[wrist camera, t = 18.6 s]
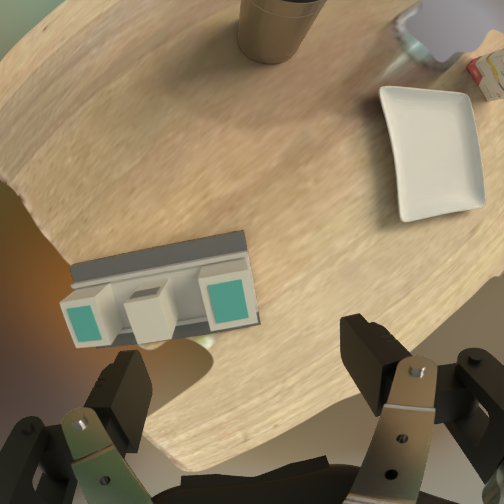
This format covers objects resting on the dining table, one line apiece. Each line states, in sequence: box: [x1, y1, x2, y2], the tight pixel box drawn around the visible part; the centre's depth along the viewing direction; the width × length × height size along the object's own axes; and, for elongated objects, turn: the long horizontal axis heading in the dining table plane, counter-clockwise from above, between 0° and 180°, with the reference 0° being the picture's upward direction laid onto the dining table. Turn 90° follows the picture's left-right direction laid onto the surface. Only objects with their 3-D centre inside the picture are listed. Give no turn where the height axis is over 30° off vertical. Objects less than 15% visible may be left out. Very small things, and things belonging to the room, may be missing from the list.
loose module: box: [124, 277, 180, 344], centre depth 38 cm, size 6×4×8 cm
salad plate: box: [378, 86, 485, 223], centre depth 41 cm, size 21×21×3 cm
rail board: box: [59, 230, 261, 348], centre depth 40 cm, size 14×27×8 cm, turn 100°
